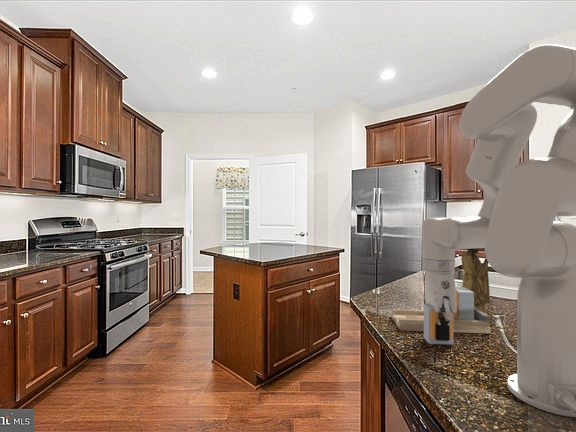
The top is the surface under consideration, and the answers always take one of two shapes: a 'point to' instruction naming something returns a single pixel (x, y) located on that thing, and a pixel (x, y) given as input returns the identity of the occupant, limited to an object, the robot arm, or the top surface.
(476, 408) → the top surface
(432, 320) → the grey upright block
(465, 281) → the statue
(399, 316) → the jaw rail
